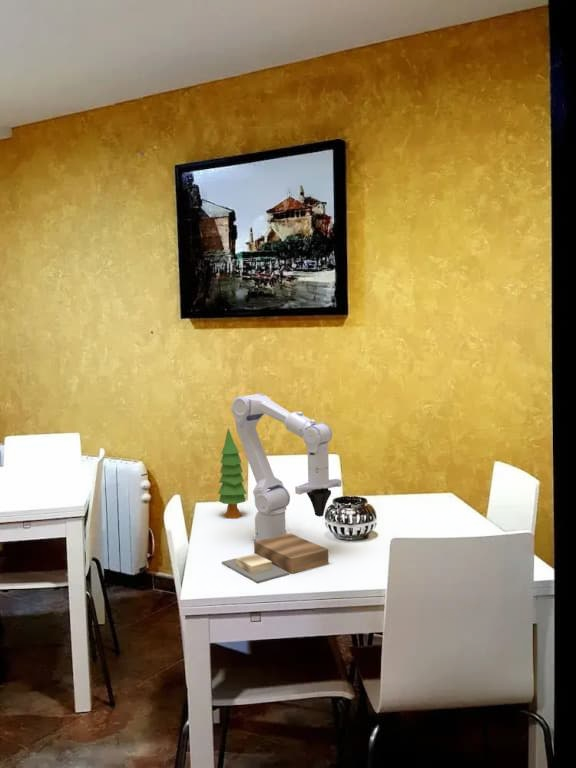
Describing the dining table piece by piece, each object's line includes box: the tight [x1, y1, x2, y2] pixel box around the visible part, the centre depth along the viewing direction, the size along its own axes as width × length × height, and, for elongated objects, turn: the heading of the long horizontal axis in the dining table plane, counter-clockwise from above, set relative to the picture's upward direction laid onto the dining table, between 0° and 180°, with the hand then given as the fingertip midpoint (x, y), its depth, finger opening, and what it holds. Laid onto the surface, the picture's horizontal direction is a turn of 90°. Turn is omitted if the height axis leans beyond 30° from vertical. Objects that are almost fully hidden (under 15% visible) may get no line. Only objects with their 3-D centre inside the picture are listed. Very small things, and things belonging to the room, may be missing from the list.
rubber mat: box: [221, 556, 290, 584], centre depth 184 cm, size 18×10×1 cm, turn 35°
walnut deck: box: [253, 532, 329, 575], centre depth 190 cm, size 18×12×4 cm, turn 35°
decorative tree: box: [217, 428, 247, 519], centre depth 234 cm, size 10×9×30 cm
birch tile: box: [236, 553, 272, 574], centre depth 184 cm, size 8×6×2 cm
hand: (319, 515), depth 195 cm, fingers closed
